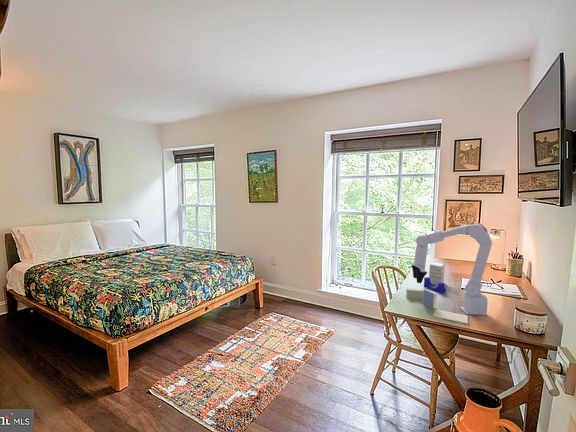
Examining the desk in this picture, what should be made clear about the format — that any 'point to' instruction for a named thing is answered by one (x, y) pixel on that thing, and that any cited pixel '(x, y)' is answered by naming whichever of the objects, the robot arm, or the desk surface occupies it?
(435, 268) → the supplement box
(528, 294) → the desk surface
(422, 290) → the block
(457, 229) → the robot arm
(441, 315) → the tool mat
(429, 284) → the cable clip
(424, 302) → the tile
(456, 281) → the desk surface
